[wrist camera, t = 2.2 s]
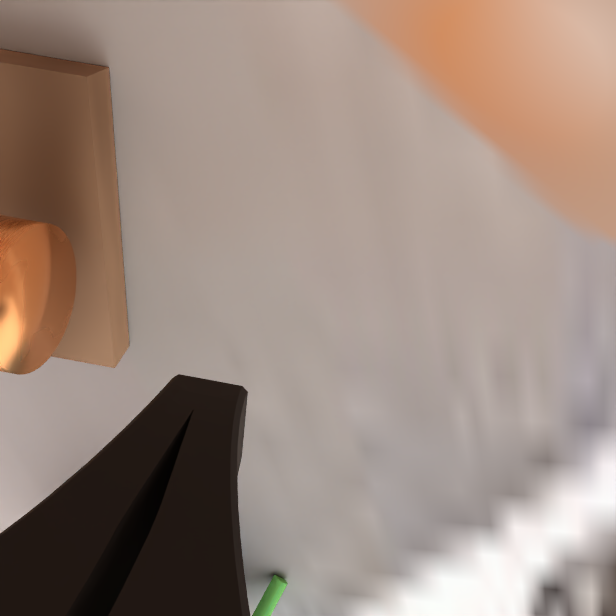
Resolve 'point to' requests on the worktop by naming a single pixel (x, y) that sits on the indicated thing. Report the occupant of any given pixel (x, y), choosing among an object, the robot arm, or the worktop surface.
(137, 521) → the robot arm
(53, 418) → the worktop surface
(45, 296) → the shaft
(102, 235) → the bearing stand
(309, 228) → the worktop surface
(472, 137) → the worktop surface
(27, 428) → the worktop surface
